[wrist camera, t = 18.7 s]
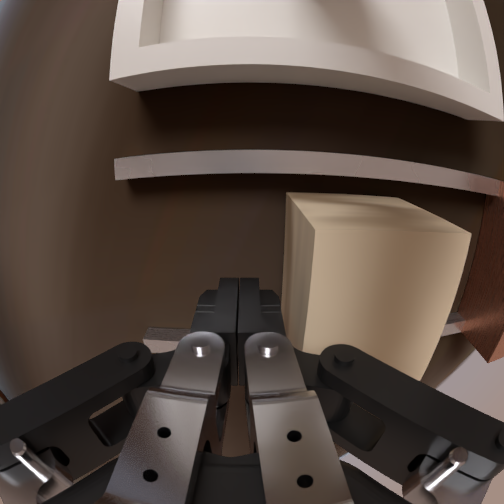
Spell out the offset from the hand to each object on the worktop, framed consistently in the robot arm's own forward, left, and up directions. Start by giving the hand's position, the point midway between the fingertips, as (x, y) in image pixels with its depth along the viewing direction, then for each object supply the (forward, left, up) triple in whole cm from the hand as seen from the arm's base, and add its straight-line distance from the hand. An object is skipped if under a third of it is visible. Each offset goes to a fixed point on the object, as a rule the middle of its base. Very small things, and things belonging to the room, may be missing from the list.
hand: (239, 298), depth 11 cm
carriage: (+5, 0, -4) cm, 6 cm away
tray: (+4, +16, -4) cm, 17 cm away
